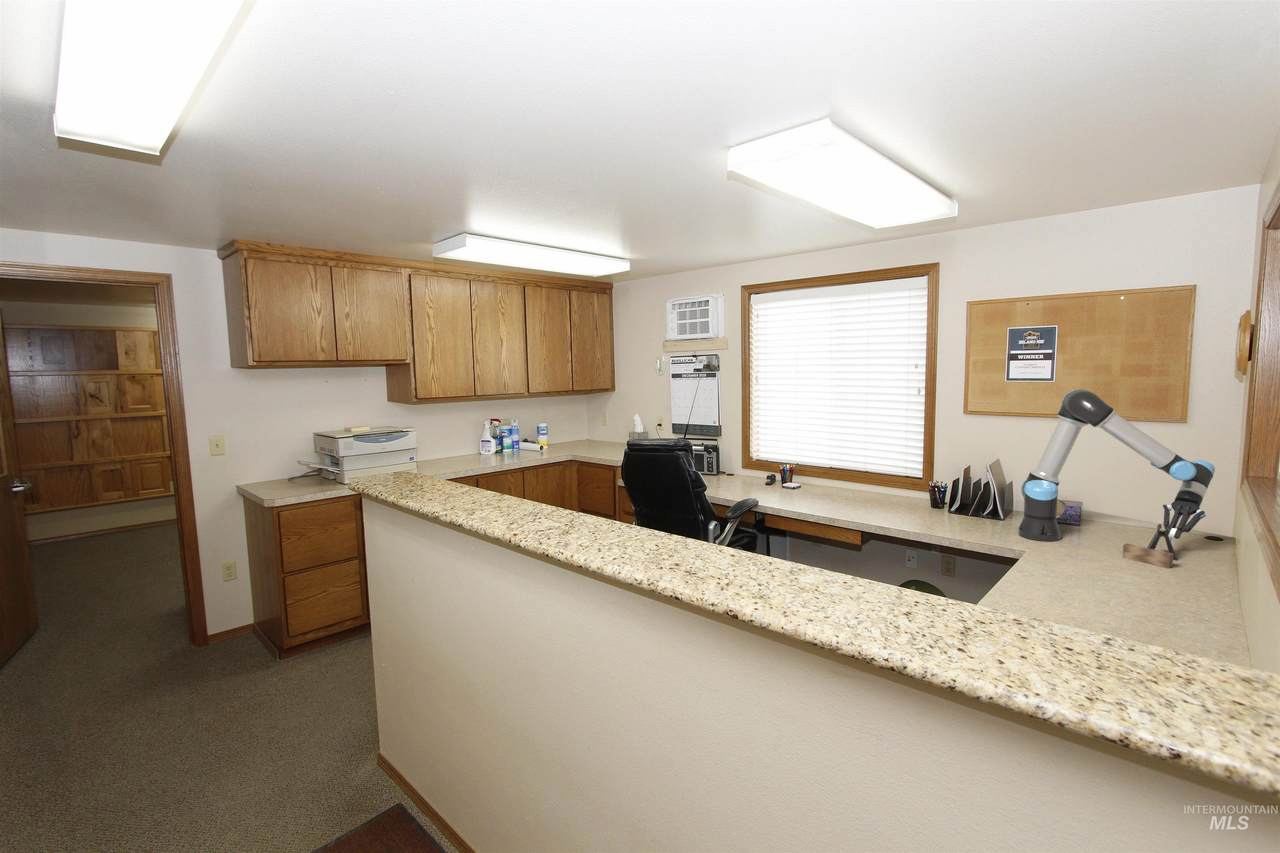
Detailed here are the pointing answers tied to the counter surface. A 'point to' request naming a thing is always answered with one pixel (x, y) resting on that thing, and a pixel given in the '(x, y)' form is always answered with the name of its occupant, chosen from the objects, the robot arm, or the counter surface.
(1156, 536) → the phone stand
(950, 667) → the counter surface
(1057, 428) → the robot arm
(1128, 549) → the block
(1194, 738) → the counter surface
